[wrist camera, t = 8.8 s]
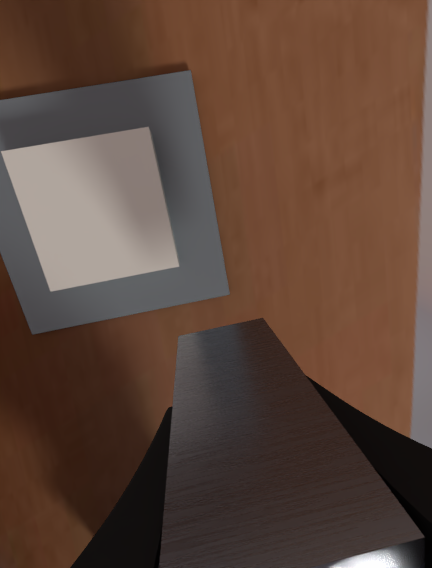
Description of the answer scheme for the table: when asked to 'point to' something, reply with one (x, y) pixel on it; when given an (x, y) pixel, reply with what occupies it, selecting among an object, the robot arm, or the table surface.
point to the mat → (176, 181)
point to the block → (269, 467)
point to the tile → (94, 207)
